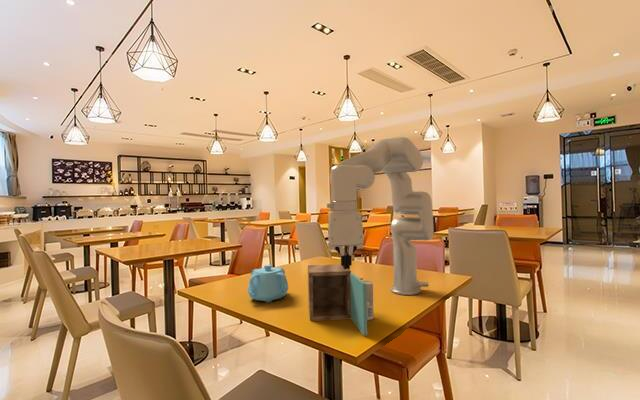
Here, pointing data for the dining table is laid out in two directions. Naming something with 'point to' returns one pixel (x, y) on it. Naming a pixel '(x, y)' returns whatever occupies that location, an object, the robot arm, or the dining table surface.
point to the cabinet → (329, 292)
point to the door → (358, 303)
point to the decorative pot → (267, 284)
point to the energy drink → (369, 299)
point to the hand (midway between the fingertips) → (346, 268)
